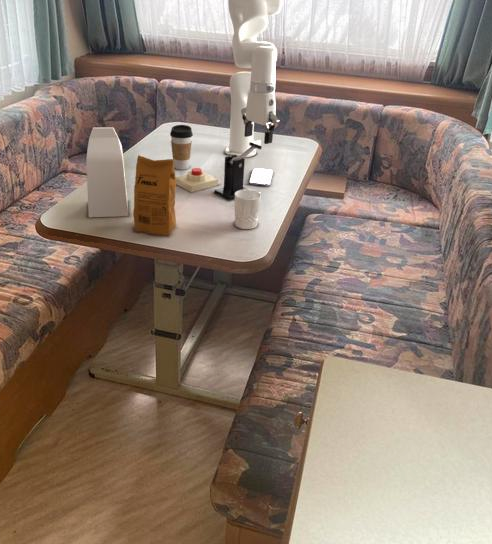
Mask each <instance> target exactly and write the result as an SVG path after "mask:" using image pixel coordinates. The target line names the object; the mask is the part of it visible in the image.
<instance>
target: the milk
mask: <svg viewBox="0 0 492 544" xmlns="http://www.w3.org/2000/svg"><path fill="white" fill-rule="evenodd" d="M86 151H87V152H86V161H85V162H86V187H87V207H88V208H87V209H88V210H87V213H88V218H109V217H114V218H115V217H129V206H128V202H129V201H128V192H127V183H126V172H125V161H124V152H123V146H122V142H121V141H120V138H119V136H118V134H117V132H116V130H115V128H114V126H104V127H103V126H101V127H99V126H98V127H95V126H94V127H92V129H91V133H90V134H89V137H88V143H87V150H86Z"/></svg>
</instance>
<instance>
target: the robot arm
mask: <svg viewBox="0 0 492 544" xmlns="http://www.w3.org/2000/svg"><path fill="white" fill-rule="evenodd" d="M283 3H284V0H227V6H228V12H229V13H228V14H229V17H230V20H231V23H232V27H233V35H232V40H231V41H232V42H231V44H232V56H233V62H234V65H235V67H237V68H241V69H250V71H238V72H235V73H233V74H232V75H231V76H230V78H229V93H230V117H229V118H230V119H229V138H228V139H229V140H228V141H229V143H228V146H226V147H225V148H224V153H225V154H227V156H230V155H237V158H238V157H239V156H240V155H241V154H243V153H244V152H245V151H246V150H248V149H249V148H250V147H251V146H250V145H249V143H250V142H252V143H255V144H257V145H260V146H262V141H261V140H260V139H259V140H256V141H255V139H254V129H255V124H258V125H261V126H264V129H265V132H264V139H263V144H265V145H268V144H272V143H273V136H274V132H275V131H276V129H278V126H279V124H280V122H281V121H280V119H279V118H278V117H277V115H276V114H277V113H276V110H277V109H276V108H277V105H276V104H277V103H276V102H277V101H276V94H275V91H276V66H277V63H276V62H277V60H278V49H277V47H276V46H275V44H274V43H271V42H268V41H258V40H257V35H260V34H262V33H263V32H264V31H266V29H267V28H268V25H269V16H274V15H277V14H279V13H280V12H281V11H282V8H283V5H284V4H283ZM256 154H257V149H256V148H255V149H254V150H253V151H252V152H250V153H249V154H248V155H247V156H246V157H245V158H249V157H254V156H255V155H256Z"/></svg>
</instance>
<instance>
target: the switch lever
mask: <svg viewBox="0 0 492 544" xmlns="http://www.w3.org/2000/svg"><path fill="white" fill-rule="evenodd" d="M249 145H250V146H251V147H250V148H249V149H248V150H246V151H245V152H244V153H243V154H241V155H240V156H239V157H237V158H236V157H234V158H232V159H231V160H230V161H229V164H230V167H232V168H233V160H236V159H240V158H247V157H246V156H247V155H248V154H249V153H250V152H252V151H253V150H254V149H255V150H257V149H258V150H261V149H262V145H257V144H255V143H252V142H250V143H249Z"/></svg>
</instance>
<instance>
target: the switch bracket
mask: <svg viewBox="0 0 492 544" xmlns="http://www.w3.org/2000/svg"><path fill="white" fill-rule="evenodd" d="M234 157H236V158H238V157H237V155H225V156H224V170H223V171H224V173H223V187H219V188H217V189H214V191H213V192H214V194H216V195H217V196H220V197H221V198H224V199H226V200H228V201H233V200H235V192H236V191H239V190H244V189H248V188H246V187H244V178H245V164H246V163H245V160H246V159H245V158H246V157H244V158H240V159H236V160H233V168H232V167H230V164H229V161H230V160H231V159H232V158H234Z"/></svg>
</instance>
